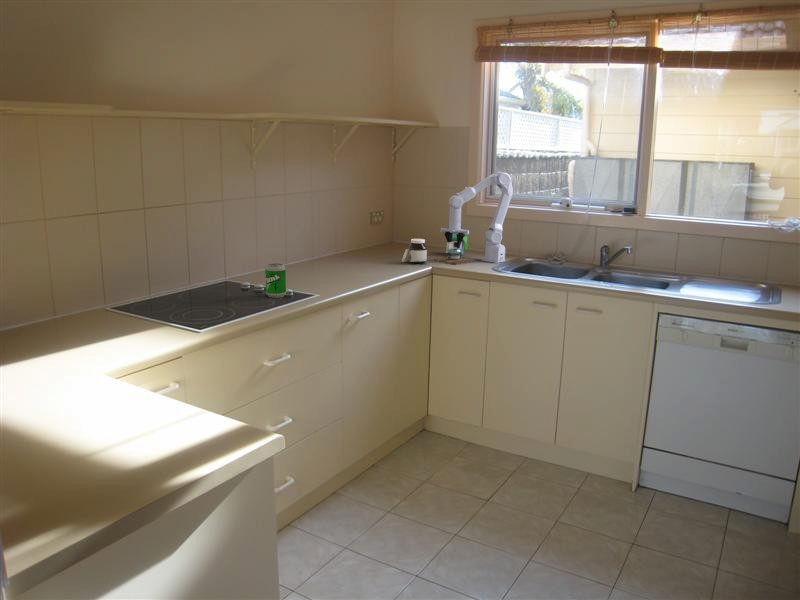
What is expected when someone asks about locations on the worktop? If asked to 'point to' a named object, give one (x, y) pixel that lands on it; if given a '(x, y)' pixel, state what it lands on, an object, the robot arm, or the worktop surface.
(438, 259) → the base plate
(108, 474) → the worktop surface
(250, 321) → the worktop surface
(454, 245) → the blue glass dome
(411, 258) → the spread jar
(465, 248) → the snack cup
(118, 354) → the worktop surface
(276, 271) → the soda can
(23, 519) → the worktop surface
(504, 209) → the robot arm
